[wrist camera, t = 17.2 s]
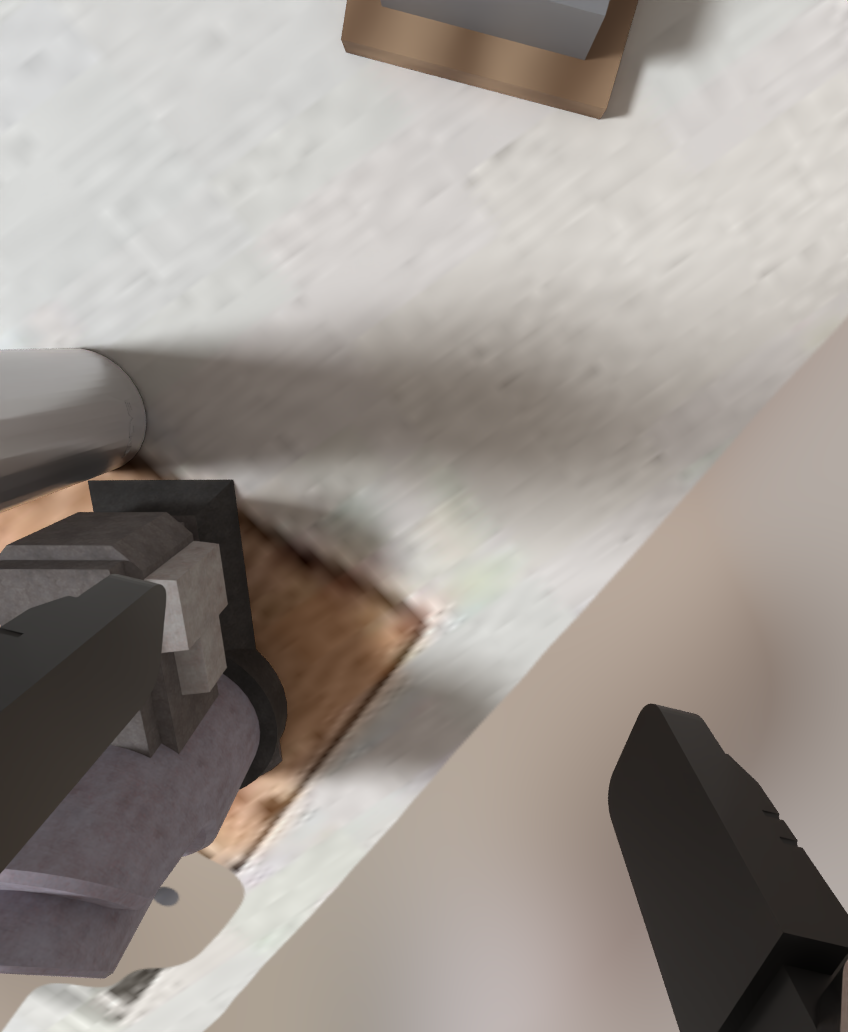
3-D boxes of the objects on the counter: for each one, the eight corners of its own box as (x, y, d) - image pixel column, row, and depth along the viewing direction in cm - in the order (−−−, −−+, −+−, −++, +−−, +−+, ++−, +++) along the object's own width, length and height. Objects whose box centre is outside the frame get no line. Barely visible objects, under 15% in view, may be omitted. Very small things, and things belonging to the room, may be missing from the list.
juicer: (297, 786, 51) (164, 1159, 28) (133, 781, 52) (-127, 1139, 29) (260, 478, 42) (16, 654, 18) (62, 479, 43) (-408, 648, 19)
